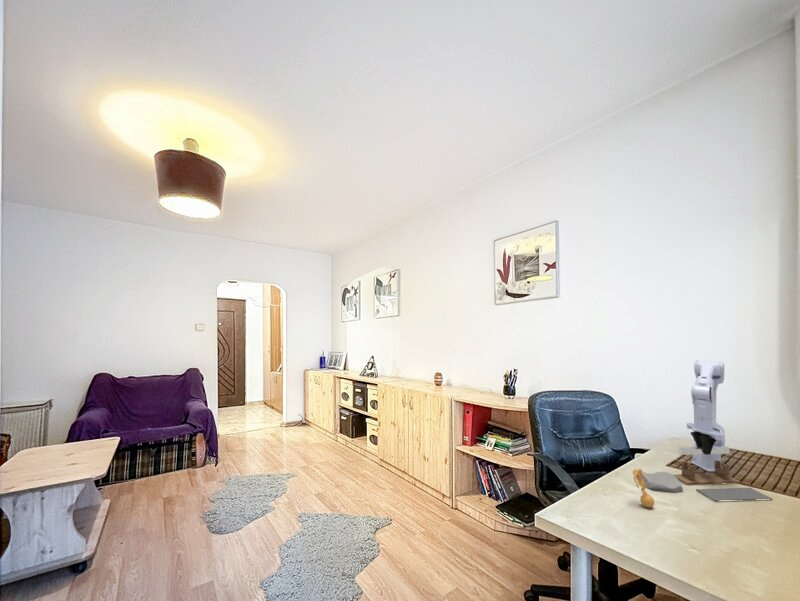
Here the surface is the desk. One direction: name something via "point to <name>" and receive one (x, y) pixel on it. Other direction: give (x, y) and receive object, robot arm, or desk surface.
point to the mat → (732, 494)
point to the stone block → (662, 481)
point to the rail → (700, 450)
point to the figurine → (645, 498)
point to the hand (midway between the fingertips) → (704, 452)
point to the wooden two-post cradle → (705, 475)
